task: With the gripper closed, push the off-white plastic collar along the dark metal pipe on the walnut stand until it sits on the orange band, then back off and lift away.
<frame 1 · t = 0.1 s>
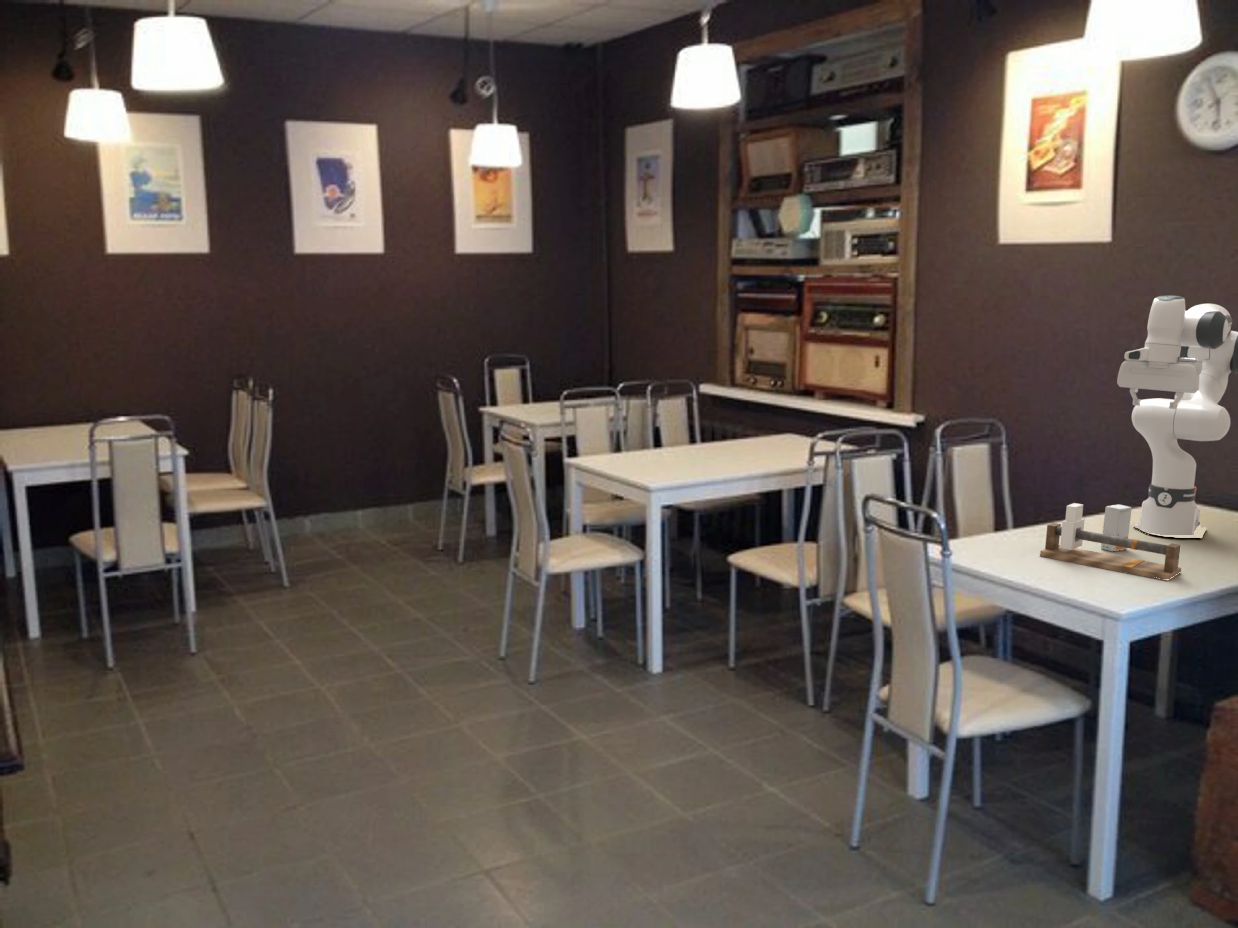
hand: (1154, 407, 303), 39 cm above the table, tool pointing down, fingers open, 8 cm apart
pipe stand: (1108, 564, 291), on the table
skincare box: (1114, 550, 307), on the table
collar: (1073, 525, 296), point 9 cm above the table, slide at 0.0 cm
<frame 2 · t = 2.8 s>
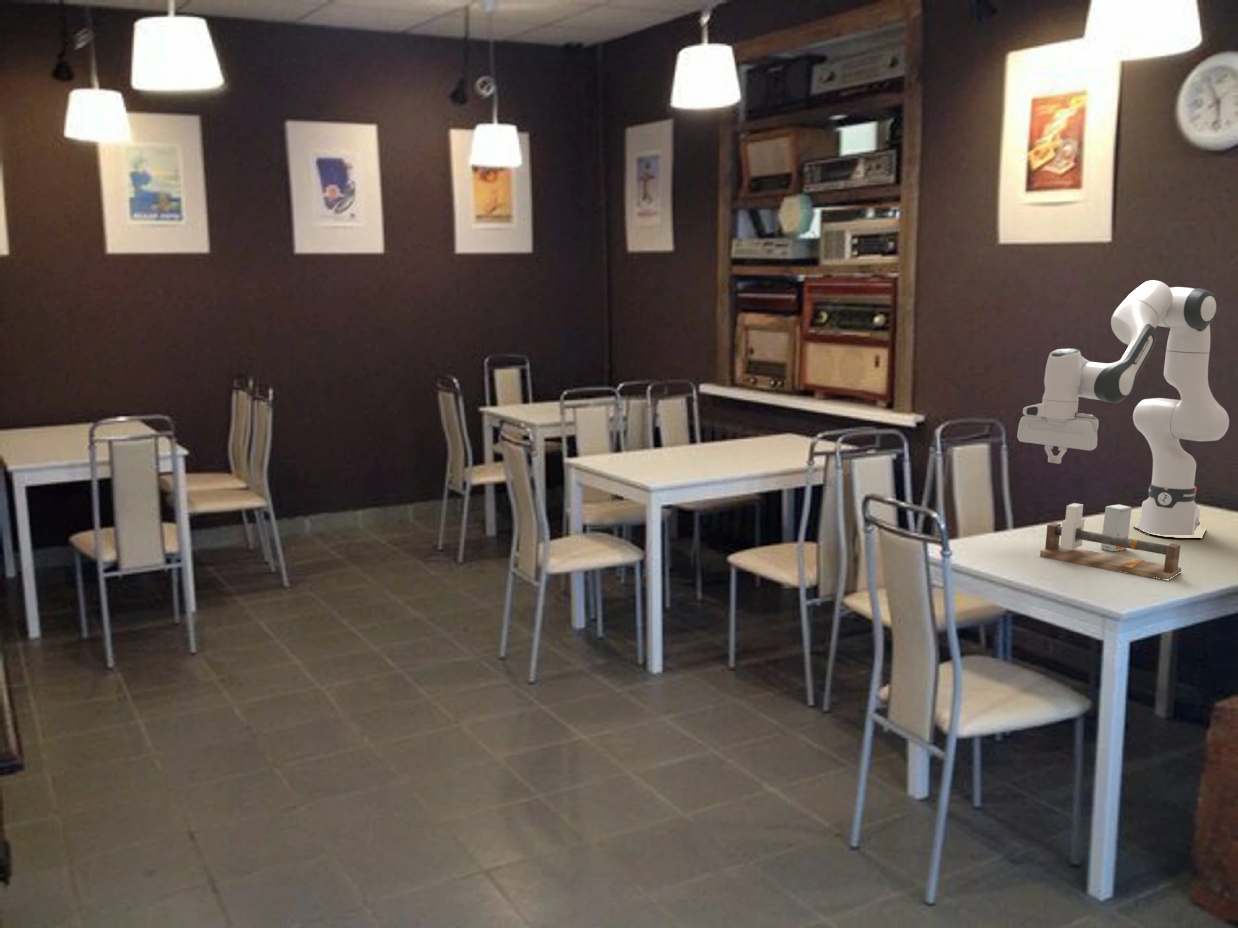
hand: (1054, 462, 297), 25 cm above the table, tool pointing down, fingers closed
nothing on the table moved.
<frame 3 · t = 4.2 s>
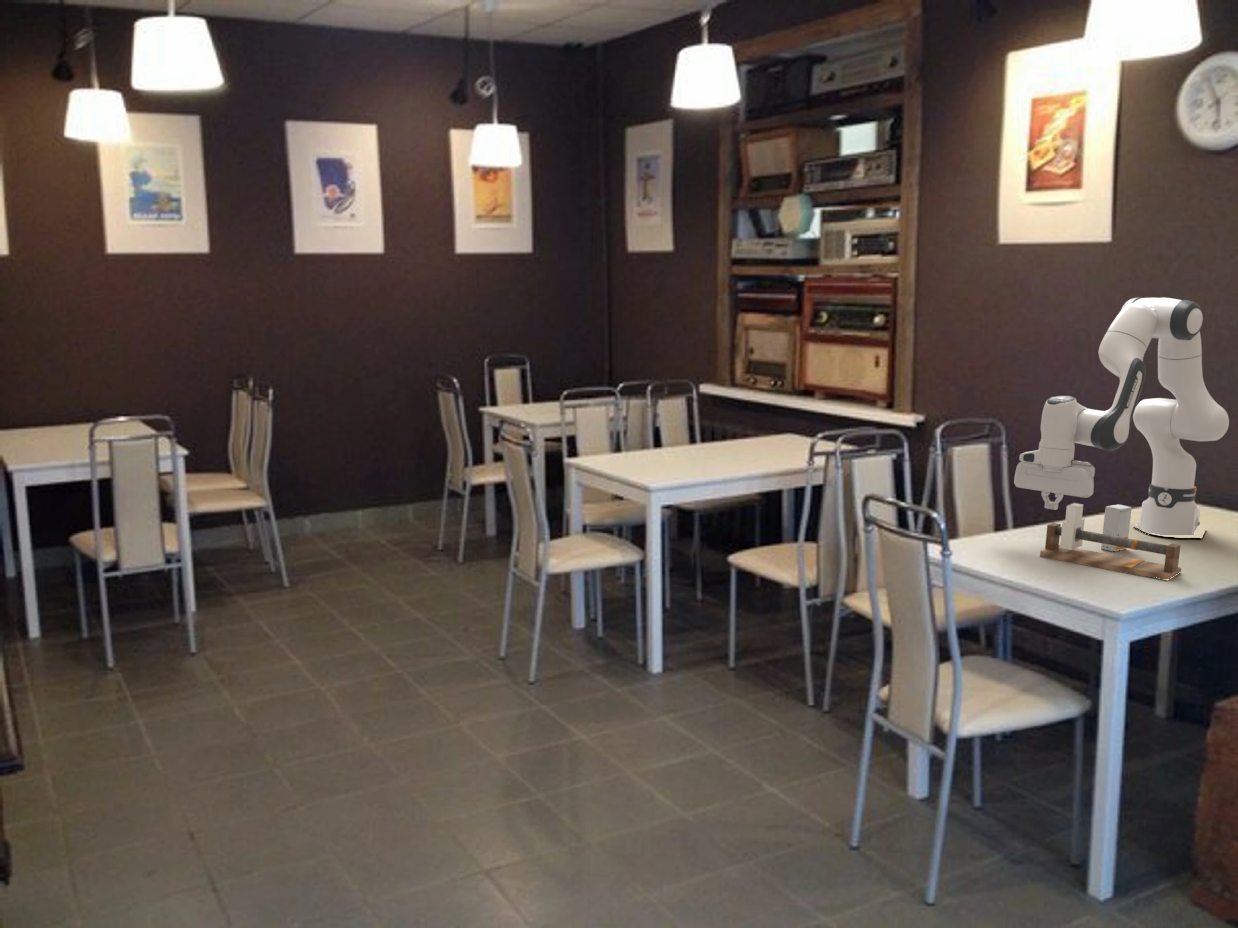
hand: (1051, 508, 300), 12 cm above the table, tool pointing down, fingers closed
nothing on the table moved.
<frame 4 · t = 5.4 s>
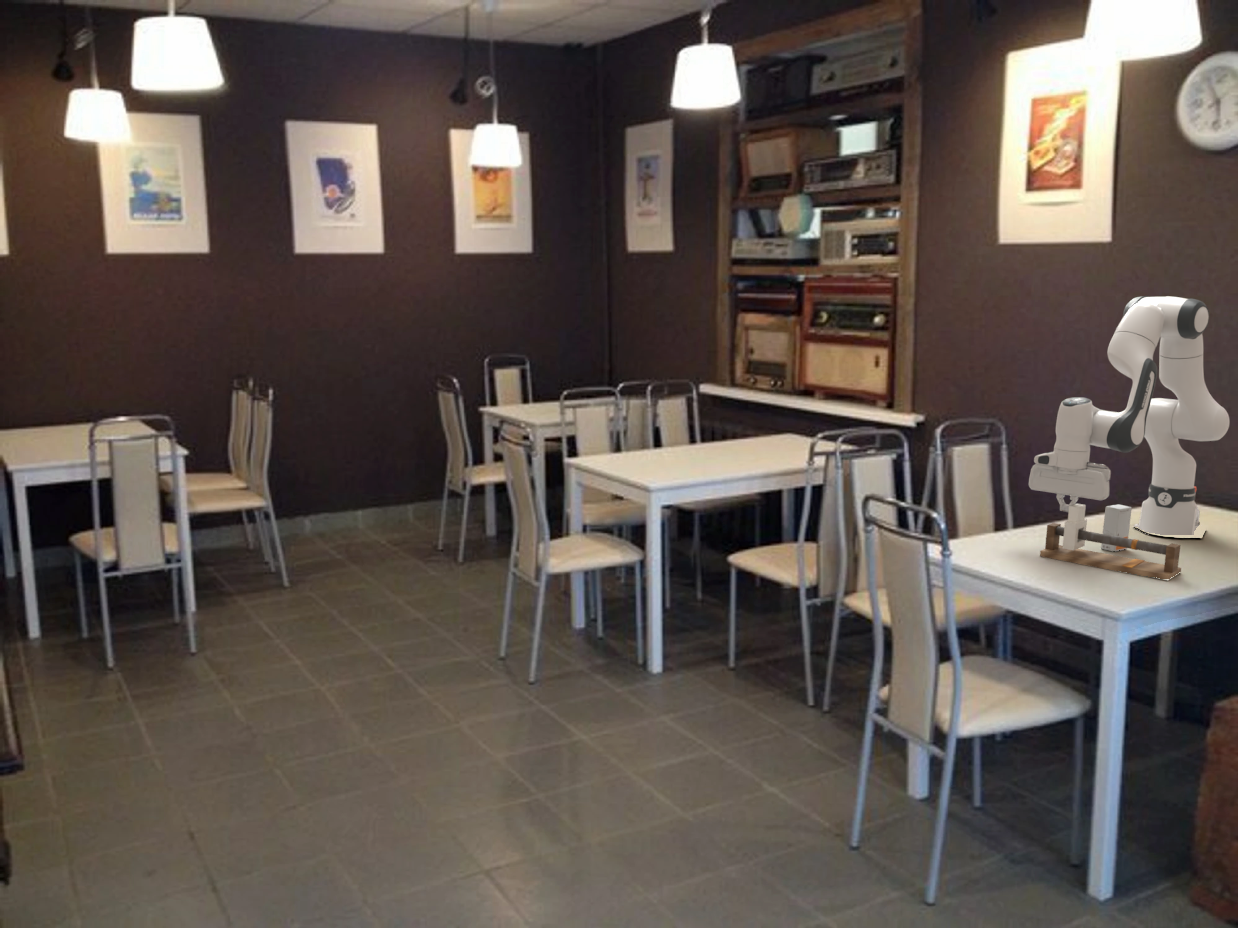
hand: (1066, 511, 297), 12 cm above the table, tool pointing down, fingers closed
collar: (1075, 526, 296), point 8 cm above the table, slide at 0.7 cm, touching gripper
everything else where it was.
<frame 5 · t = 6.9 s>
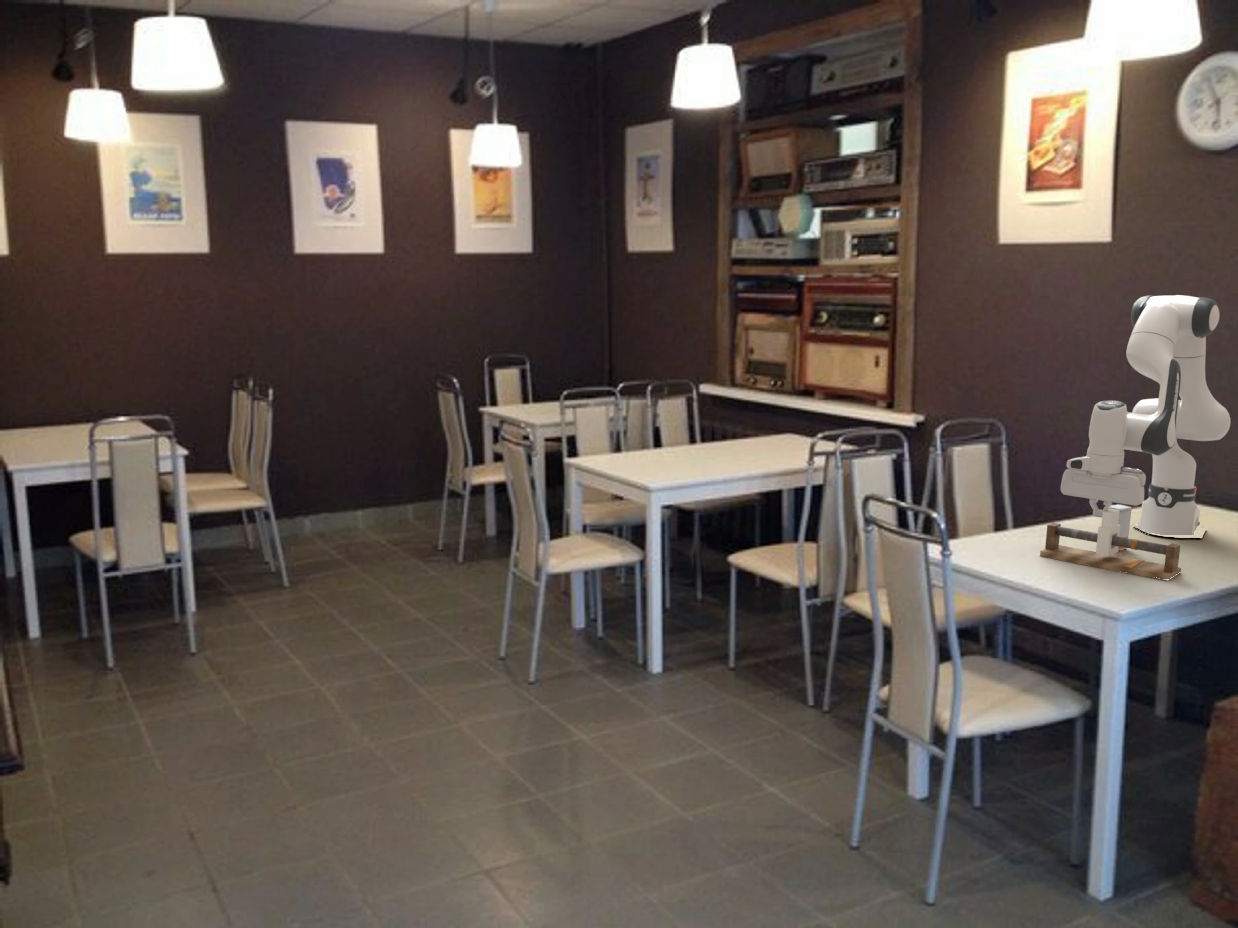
hand: (1099, 516, 291), 12 cm above the table, tool pointing down, fingers closed
collar: (1109, 532, 290), point 8 cm above the table, slide at 9.3 cm, touching gripper
everything else where it was.
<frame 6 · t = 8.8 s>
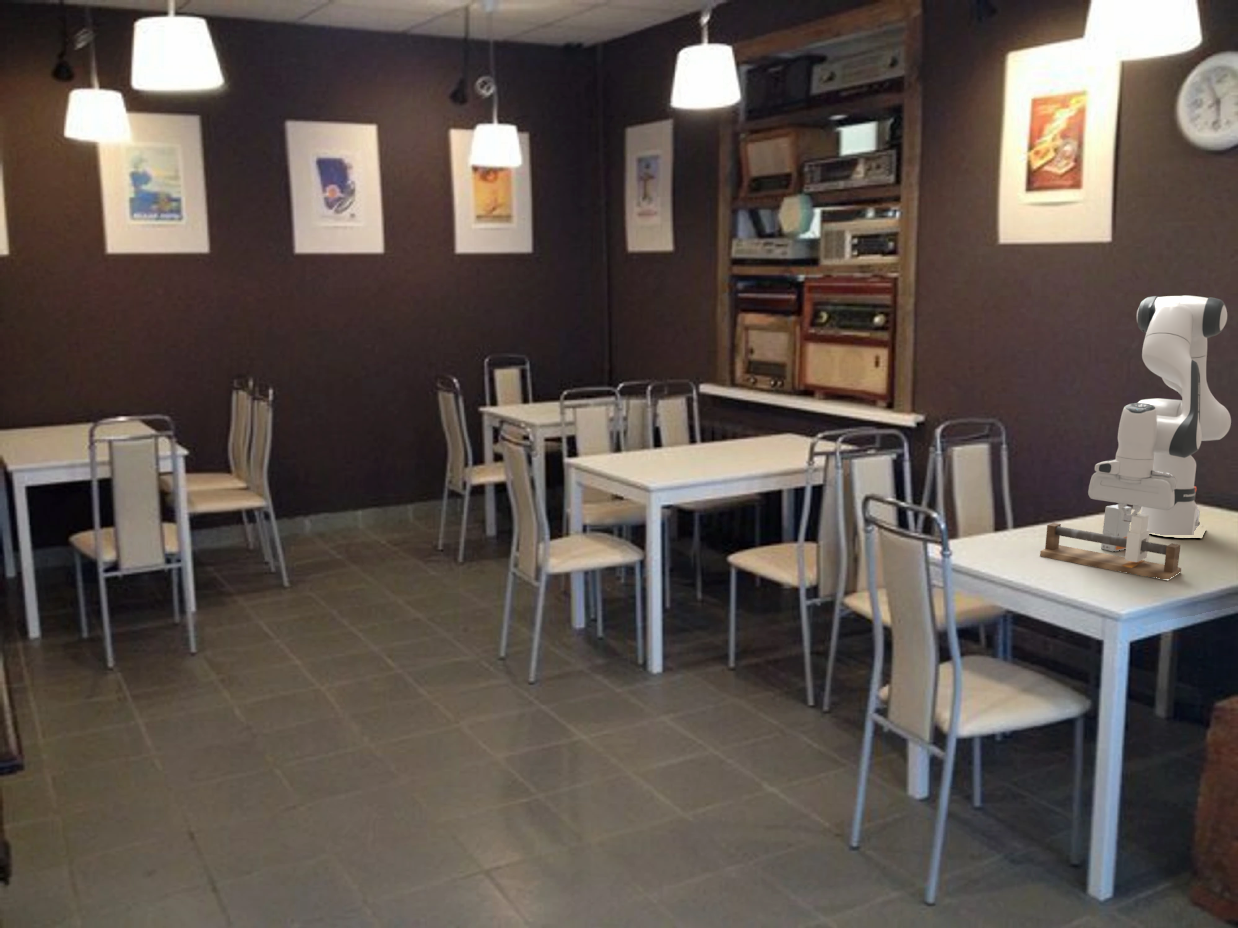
hand: (1128, 521, 286), 12 cm above the table, tool pointing down, fingers closed
collar: (1138, 537, 285), point 8 cm above the table, slide at 16.5 cm, touching gripper
everything else where it was.
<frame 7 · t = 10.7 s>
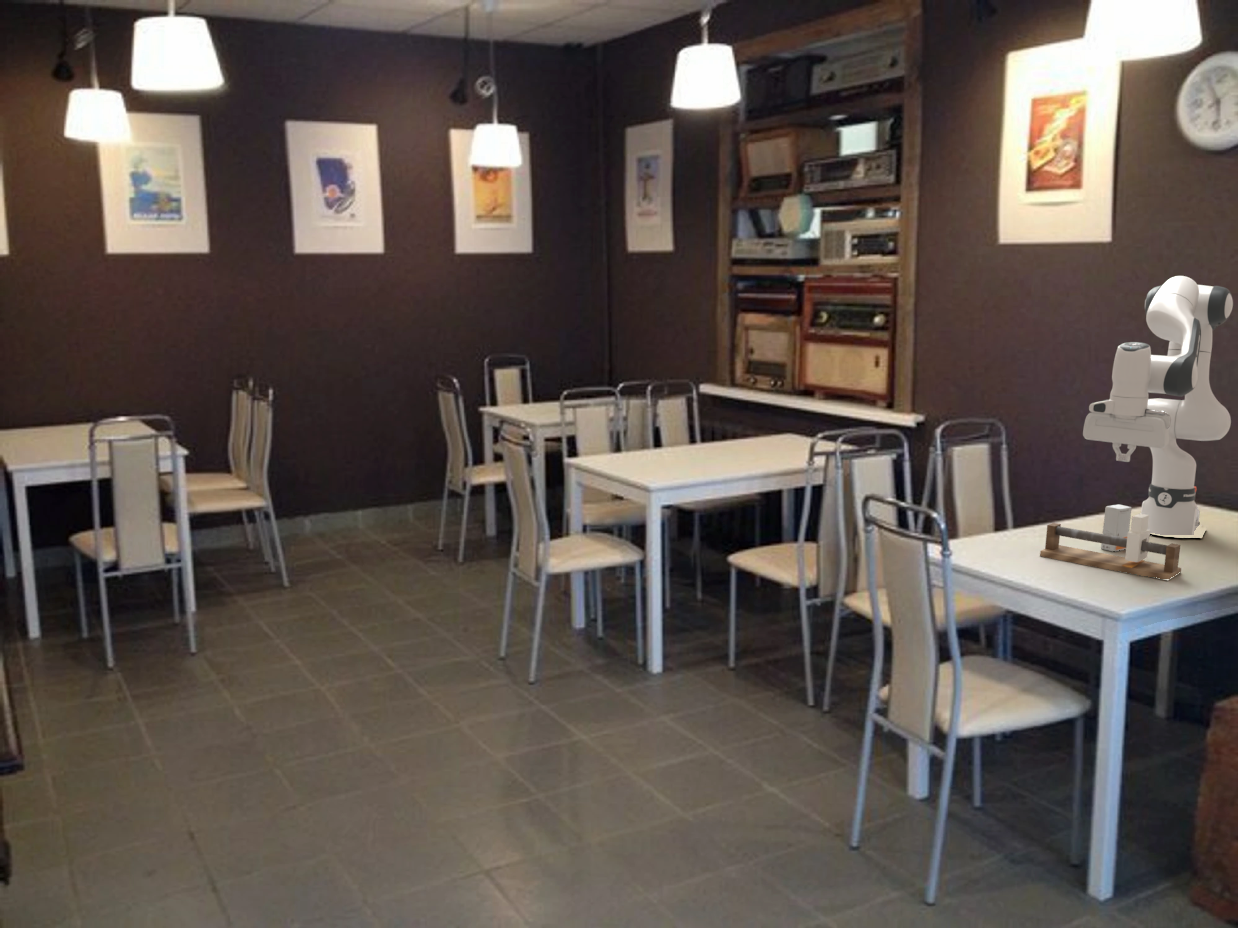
hand: (1122, 461, 286), 27 cm above the table, tool pointing down, fingers closed
collar: (1138, 537, 285), point 8 cm above the table, slide at 16.5 cm
everything else where it was.
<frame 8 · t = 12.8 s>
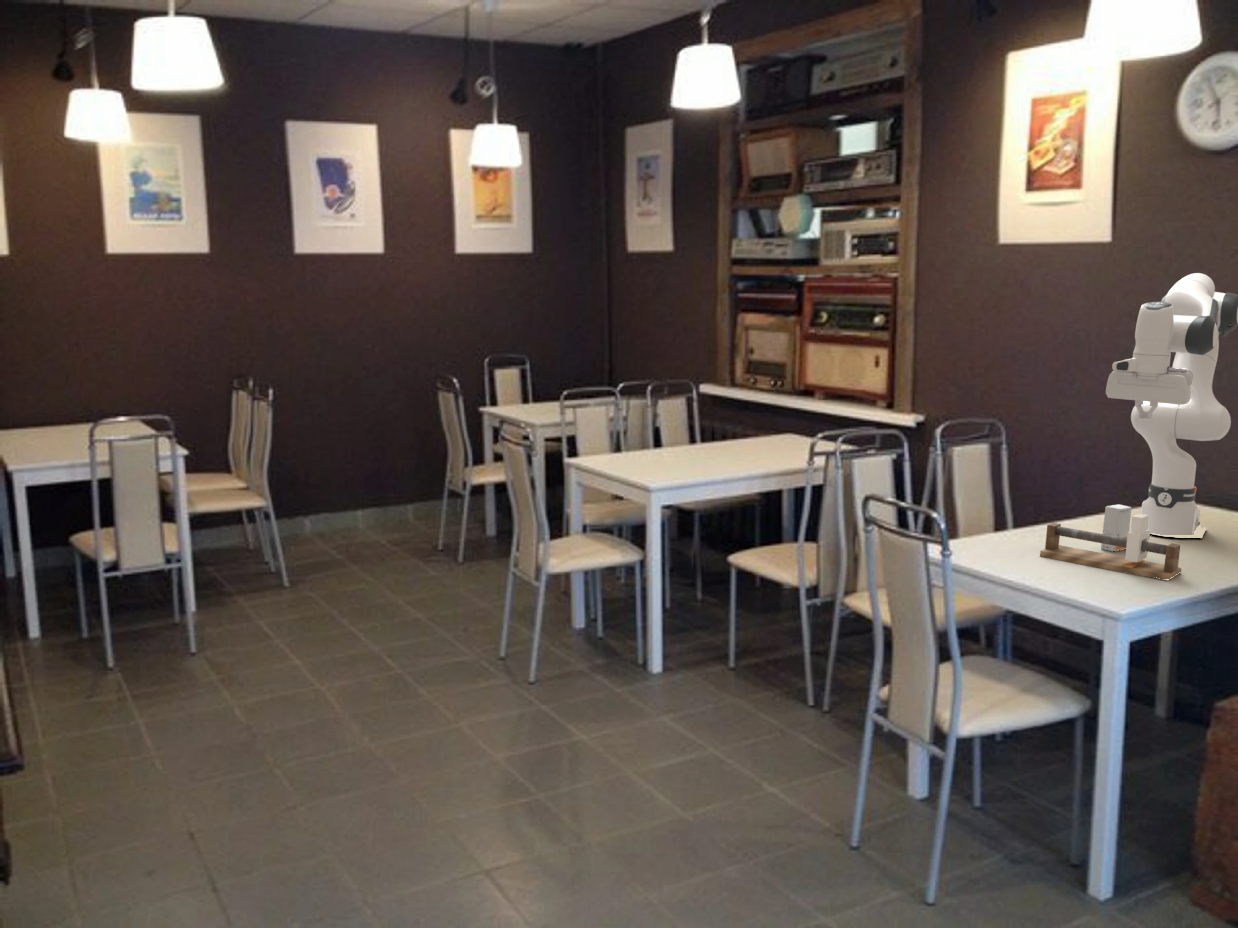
hand: (1144, 418, 293), 37 cm above the table, tool pointing down, fingers closed
nothing on the table moved.
at the end: collar slide at 16.5 cm; skincare box moved 0.2 cm from its start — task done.
